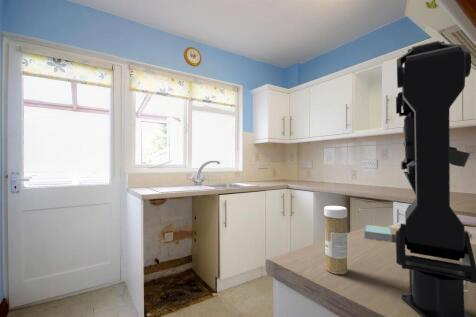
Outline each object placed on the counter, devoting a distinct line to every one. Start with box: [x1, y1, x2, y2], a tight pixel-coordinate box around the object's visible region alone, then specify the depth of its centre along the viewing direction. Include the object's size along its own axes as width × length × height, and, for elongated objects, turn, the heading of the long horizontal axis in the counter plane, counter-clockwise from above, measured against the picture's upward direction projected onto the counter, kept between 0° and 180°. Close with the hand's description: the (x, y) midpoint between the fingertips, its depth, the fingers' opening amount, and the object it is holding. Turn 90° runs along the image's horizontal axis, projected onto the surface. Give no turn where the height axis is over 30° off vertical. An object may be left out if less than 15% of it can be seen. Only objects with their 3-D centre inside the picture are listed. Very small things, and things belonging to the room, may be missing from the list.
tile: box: [364, 224, 393, 243], centre depth 72 cm, size 2×7×8 cm
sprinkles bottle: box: [323, 205, 349, 275], centre depth 49 cm, size 5×5×13 cm
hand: (421, 201), depth 56 cm, fingers closed
